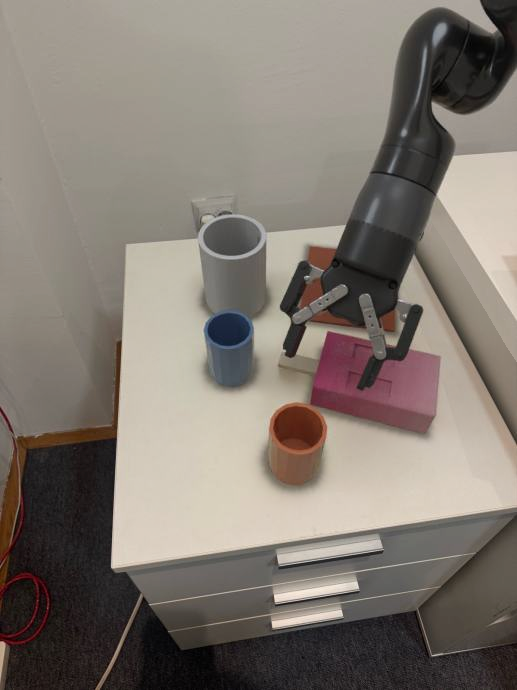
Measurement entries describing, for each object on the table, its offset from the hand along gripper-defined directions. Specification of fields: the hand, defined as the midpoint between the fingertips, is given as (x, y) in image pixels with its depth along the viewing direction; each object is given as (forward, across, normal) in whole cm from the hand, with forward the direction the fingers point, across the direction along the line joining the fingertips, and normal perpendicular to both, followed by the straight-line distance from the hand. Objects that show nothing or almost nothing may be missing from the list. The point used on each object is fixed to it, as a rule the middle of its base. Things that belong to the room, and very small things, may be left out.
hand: (324, 372), depth 53 cm
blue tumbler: (+7, -13, +9) cm, 17 cm away
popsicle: (+3, +2, +13) cm, 13 cm away
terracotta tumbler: (+12, 0, +3) cm, 13 cm away
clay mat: (-9, -6, +24) cm, 27 cm away
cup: (-1, -20, +17) cm, 26 cm away
